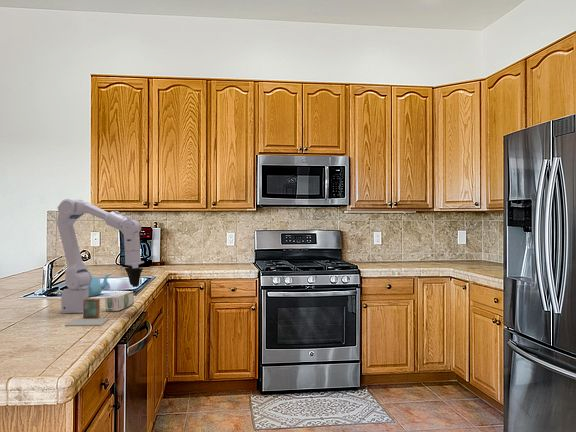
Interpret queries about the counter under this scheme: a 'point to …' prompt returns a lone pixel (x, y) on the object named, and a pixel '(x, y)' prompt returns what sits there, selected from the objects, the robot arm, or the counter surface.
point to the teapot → (97, 286)
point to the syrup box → (119, 301)
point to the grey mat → (87, 322)
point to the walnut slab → (91, 308)
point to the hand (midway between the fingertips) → (134, 285)
